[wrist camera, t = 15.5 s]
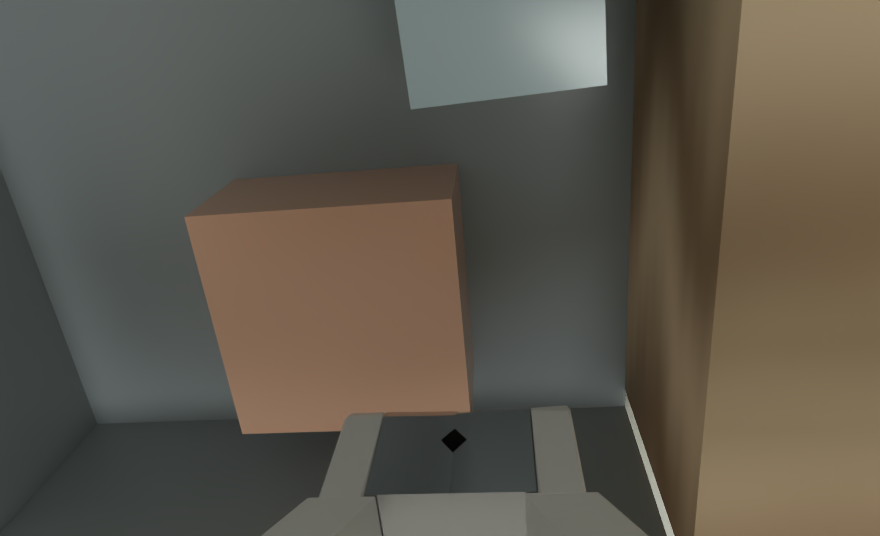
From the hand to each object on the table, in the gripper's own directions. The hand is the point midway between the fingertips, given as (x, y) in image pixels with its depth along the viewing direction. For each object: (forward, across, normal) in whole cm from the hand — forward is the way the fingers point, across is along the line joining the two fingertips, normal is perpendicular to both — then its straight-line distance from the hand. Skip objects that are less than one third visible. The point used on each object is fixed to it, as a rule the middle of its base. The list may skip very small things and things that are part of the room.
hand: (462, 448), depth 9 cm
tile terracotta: (+4, +3, 0) cm, 5 cm away
